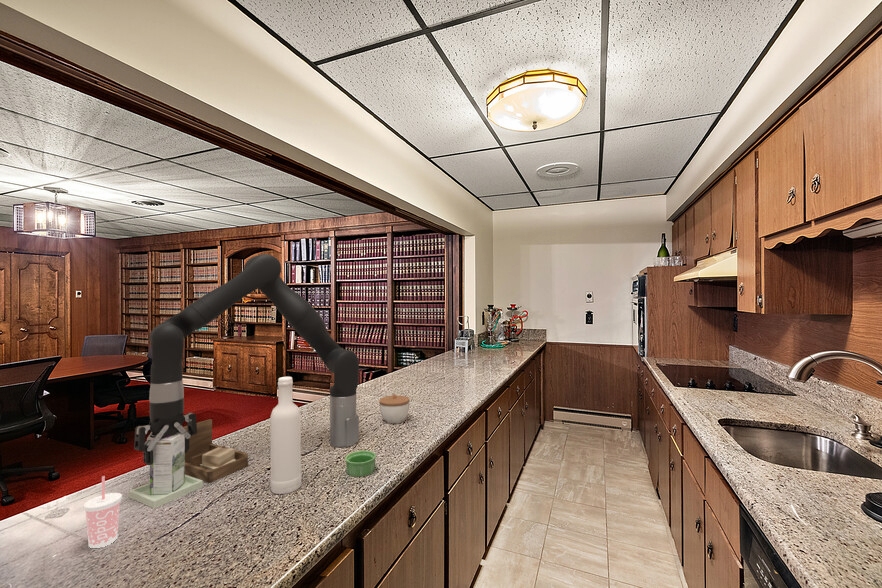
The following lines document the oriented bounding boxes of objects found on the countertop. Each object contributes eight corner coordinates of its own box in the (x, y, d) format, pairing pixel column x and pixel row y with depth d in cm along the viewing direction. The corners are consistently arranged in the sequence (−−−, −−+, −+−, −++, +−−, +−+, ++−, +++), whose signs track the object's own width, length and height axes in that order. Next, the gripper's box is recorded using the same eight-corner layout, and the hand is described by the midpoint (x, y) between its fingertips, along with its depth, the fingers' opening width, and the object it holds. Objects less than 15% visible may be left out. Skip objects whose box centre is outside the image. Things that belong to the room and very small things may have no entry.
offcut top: (234, 458, 117) (234, 448, 117) (219, 467, 111) (219, 456, 111) (218, 457, 119) (218, 447, 119) (202, 465, 113) (202, 455, 113)
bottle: (270, 483, 106) (269, 376, 107) (300, 478, 109) (299, 373, 110) (270, 497, 99) (269, 382, 99) (302, 490, 102) (301, 379, 102)
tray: (203, 486, 105) (203, 480, 105) (153, 508, 94) (153, 501, 94) (178, 477, 110) (178, 472, 110) (129, 497, 100) (129, 490, 100)
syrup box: (163, 484, 105) (162, 432, 105) (185, 483, 106) (185, 431, 106) (149, 495, 100) (148, 440, 99) (173, 494, 100) (172, 439, 100)
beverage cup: (77, 555, 77) (77, 485, 77) (91, 537, 83) (91, 473, 83) (115, 546, 80) (115, 479, 80) (126, 530, 85) (126, 467, 85)
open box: (247, 466, 118) (247, 427, 118) (209, 483, 107) (208, 440, 107) (210, 455, 126) (210, 419, 126) (171, 470, 116) (170, 430, 116)
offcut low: (236, 469, 116) (236, 459, 116) (214, 479, 110) (214, 469, 110) (222, 465, 119) (222, 455, 119) (199, 474, 113) (199, 464, 113)
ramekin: (339, 475, 111) (339, 460, 111) (356, 462, 120) (356, 448, 120) (365, 480, 108) (365, 464, 108) (381, 466, 116) (381, 452, 117)
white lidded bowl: (375, 418, 163) (375, 393, 163) (403, 414, 168) (403, 389, 168) (384, 427, 151) (384, 400, 152) (414, 423, 157) (413, 396, 157)
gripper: (144, 406, 95) (144, 472, 94) (202, 393, 107) (202, 451, 107) (128, 403, 98) (128, 466, 98) (186, 390, 111) (187, 446, 111)
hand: (167, 458), depth 102 cm, fingers open, 8 cm apart
